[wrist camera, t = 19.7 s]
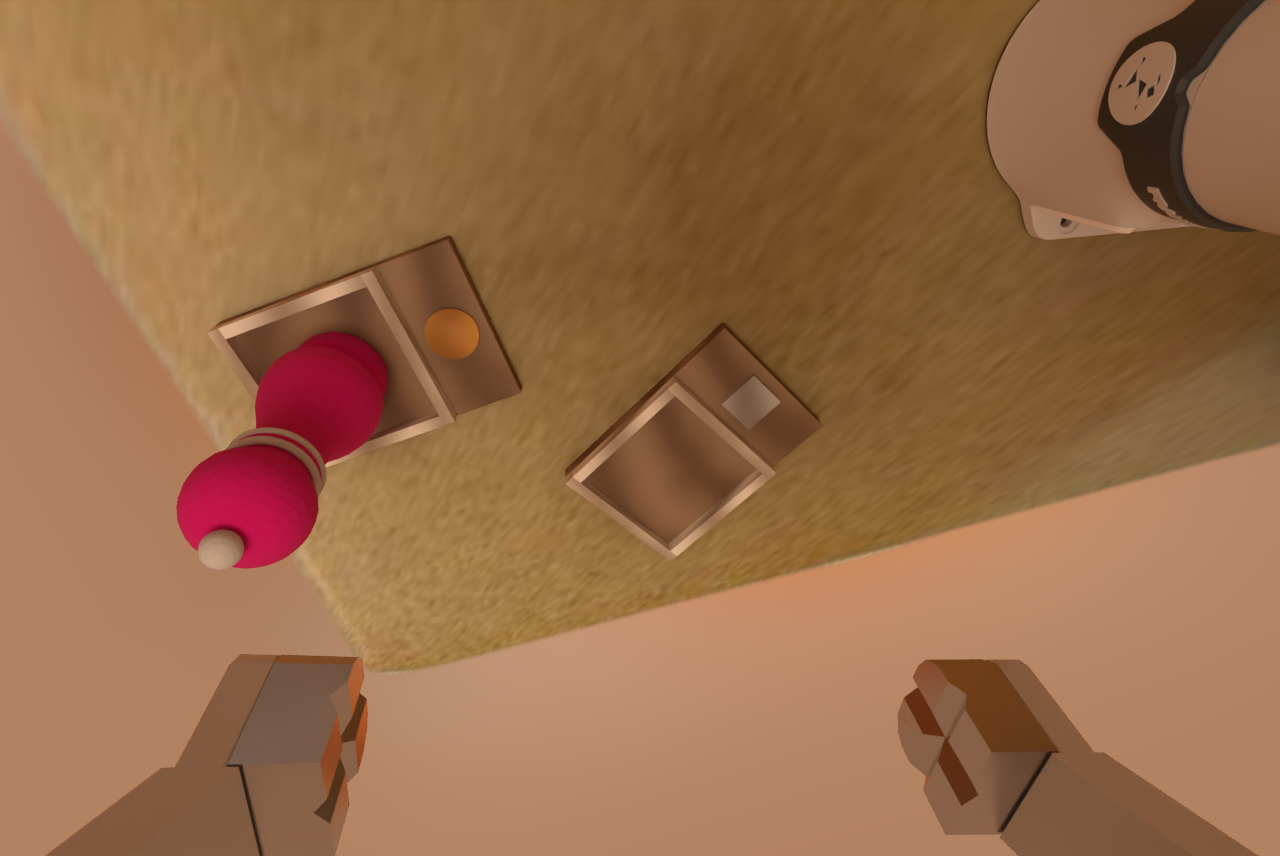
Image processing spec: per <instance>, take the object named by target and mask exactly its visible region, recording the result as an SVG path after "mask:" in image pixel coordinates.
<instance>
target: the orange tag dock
mask: <svg viewBox="0 0 1280 856" xmlns="http://www.w3.org/2000/svg"><path fill="white" fill-rule="evenodd" d="M326 332H341V333H346V334H349V335H352V336H355V337H358V338H360V339H361V340H363V341H365V342H366V343H367V344H369V345H370V346H371V347H373V348H374V350H375V351H376V352H377V353H378V354H379V355H380V357H381V358H382V360H383V362H384V364H385V366H386V369H387V373H388V387H387V391H386V393H385V396H384V398H383V399H382V400H383V410H382V416H381V419H380V422H379V424H378V426H377V428H376V429H375V431H374V432H373V434H372V435H371V436H370V438H369V439H368V440H367V441H366V442H365V443H364V444H363V445H362V446H361V447H359V448H358V449H356V450H355V451H353V452H352V453H350V454H348V455H346V456H344V457H342V458H340V459H337V460H333V461H330V462H328V463H326V465H325V467H329V466H332V465H335V464H337V463H340V462H343V461H346V460H349V459H351V458H354V457H357V456H360V455H363V454H366V453H368V452H371V451H374V450H377V449H380V448H383V447H385V446H388V445H391V444H394V443H397V442H399V441H402V440H405V439H408V438H411V437H414V436H416V435H419V434H422V433H425V432H428V431H431V430H433V429H436V428H439V427H442V426H445V425H447V424H450V423H453V422H455V420H456V416H457V415H459V414H462V413H465V412H468V411H471V410H473V409H476V408H479V407H482V406H485V405H488V404H490V403H493V402H496V401H499V400H502V399H504V398H507V397H510V396H513V395H516V394H519V393H521V389H522V386H521V384H520V382H519V380H518V378H517V376H516V373H515V371H514V369H513V367H512V365H511V363H510V361H509V359H508V357H507V355H506V352H505V350H504V348H503V346H502V344H501V342H500V340H499V338H498V336H497V334H496V331H495V329H494V327H493V325H492V323H491V321H490V319H489V317H488V315H487V313H486V310H485V308H484V306H483V304H482V302H481V300H480V298H479V296H478V294H477V292H476V289H475V287H474V285H473V283H472V281H471V279H470V277H469V275H468V273H467V271H466V268H465V266H464V264H463V262H462V260H461V258H460V256H459V254H458V252H457V250H456V247H455V245H454V243H453V241H452V239H451V237H450V236H448V237H445V238H443V239H440V240H437V241H435V242H432V243H429V244H427V245H424V246H421V247H419V248H416V249H413V250H411V251H408V252H405V253H403V254H400V255H397V256H395V257H392V258H389V259H387V260H384V261H381V262H379V263H376V264H373V265H371V266H368V267H365V268H363V269H360V270H357V271H355V272H352V273H349V274H347V275H344V276H341V277H339V278H336V279H333V280H331V281H328V282H325V283H323V284H320V285H317V286H315V287H312V288H309V289H307V290H304V291H301V292H299V293H296V294H293V295H291V296H288V297H285V298H283V299H280V300H278V301H275V302H272V303H270V304H267V305H264V306H262V307H259V308H256V309H254V310H251V311H248V312H246V313H243V314H240V315H238V316H235V317H232V318H230V319H227V320H224V321H222V322H220V323H218V324H217V325H216V326H215V327H213V328H212V329H211V330H209V331H208V332H207V334H208V335H209V337H210V338H211V339H212V341H213V342H214V344H215V345H216V346H217V348H218V349H219V351H220V352H221V354H222V355H223V356H224V358H225V359H226V361H227V362H228V363H229V365H230V366H231V368H232V369H233V371H234V372H235V373H236V375H237V376H238V378H239V379H240V380H241V382H242V383H243V385H244V386H245V388H246V389H247V390H248V392H249V393H250V395H251V396H252V397H253V399H254V400H255V402H256V396H257V391H258V387H259V384H260V382H261V380H262V378H263V377H264V375H265V373H266V372H267V370H268V369H269V367H270V366H271V365H272V364H273V363H274V362H275V361H276V360H277V359H278V358H279V357H281V356H282V355H284V354H286V353H288V352H290V351H292V350H295V349H298V348H299V346H300V345H301V344H302V343H303V342H305V341H306V340H307V339H309V338H310V337H312V336H315V335H317V334H321V333H326Z"/></svg>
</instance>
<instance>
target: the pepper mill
mask: <svg viewBox="0 0 1280 856" xmlns="http://www.w3.org/2000/svg"><path fill="white" fill-rule="evenodd" d="M387 387H388V373H387V369H386V366H385V364H384V362H383V360H382V358H381V357H380V355H379V354H378V353H377V352H376V351H375V350H374V348H373V347H371V346H370V345H369V344H367V343H366V342H365V341H363V340H361V339H360V338H358V337H355V336H352V335H349V334H346V333H341V332H326V333H321V334H317V335H315V336H312V337H310V338H309V339H307V340H306V341H305V342H303V343H302V344H301V345H300V346H299V348H298V349H295V350H292V351H290V352H288V353H286V354H284V355H282V356H281V357H279V358H278V359H277V360H276V361H275V362H274V363H273V364H272V365H271V366H270V367H269V369H268V370H267V372H266V373H265V375H264V377H263V378H262V380H261V382H260V384H259V387H258V391H257V396H256V402H255V413H256V428H255V429H252V430H249V431H246V432H244V433H242V434H241V435H239V436H238V437H236V438H235V439H234V440H233V441H232V442H231V443H230V445H229V447H228V448H227V449H225V450H224V451H221V452H218V453H215V454H214V455H212V456H211V457H209V458H208V459H206V460H205V461H203V462H201V463H200V464H199V465H198V466H197V467H196V468H195V469H194V470H193V471H192V472H191V473H190V475H189V476H188V477H187V479H186V481H185V482H184V484H183V486H182V489H181V491H180V494H179V497H178V502H177V520H178V523H179V526H180V528H181V531H182V533H183V535H184V537H185V539H186V540H187V541H188V542H189V544H190V545H191V546H192V547H193V548H194V549H196V550H197V551H198V557H199V559H200V561H201V562H202V563H203V564H204V565H205V566H207V567H208V568H211V569H215V570H223V569H227V568H230V567H236V568H255V567H262V566H267V565H269V564H273V563H275V562H277V561H279V560H282V559H284V558H285V557H287V556H289V555H290V554H291V553H293V552H294V551H295V550H296V549H297V548H299V547H300V546H301V545H302V544H303V542H304V541H305V540H306V539H307V537H308V536H309V534H310V533H311V531H312V528H313V526H314V524H315V522H316V518H317V514H318V510H319V509H318V497H319V494H320V492H321V491H322V489H323V487H324V485H325V481H326V467H325V465H326V463H328V462H330V461H333V460H337V459H340V458H342V457H344V456H346V455H348V454H350V453H352V452H353V451H355V450H356V449H358V448H359V447H361V446H362V445H363V444H364V443H365V442H366V441H367V440H368V439H369V438H370V436H371V435H372V434H373V432H374V431H375V429H376V428H377V426H378V424H379V422H380V419H381V416H382V410H383V400H382V399H383V398H384V396H385V393H386V391H387Z"/></svg>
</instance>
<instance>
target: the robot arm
mask: <svg viewBox="0 0 1280 856" xmlns="http://www.w3.org/2000/svg"><path fill="white" fill-rule="evenodd" d="M987 134H988V141H989V147H990V151H991V154H992V157H993V160H994V162H995V165H996V167H997V169H998V171H999V172H1000V174H1001V176H1002V177H1003V178H1004V180H1005V181H1006V182H1007V183H1008V185H1009V186H1010V187H1011V188H1012V190H1013V191H1014V192H1015V194H1016V195H1017V197H1018V198H1019V200H1020V204H1021V210H1022V215H1023V220H1024V224H1025V227H1026V230H1027V232H1028V233H1029V234H1030V235H1031V236H1032V237H1034V238H1038V239H1043V240H1054V239H1064V238H1075V237H1085V236H1096V235H1106V234H1117V233H1126V234H1129V233H1131V232H1137V231H1148V230H1158V229H1169V228H1179V227H1190V226H1194V227H1198V228H1203V229H1206V228H1208V229H1213V230H1223V231H1228V232H1250V231H1258V230H1259V231H1263V232H1267V233H1271V234H1275V235H1279V236H1280V0H1040V1H1039V2H1038V3H1037V4H1036V5H1035V6H1034V7H1033V9H1032V10H1031V11H1030V12H1029V13H1028V15H1027V16H1026V17H1025V18H1024V20H1023V21H1022V22H1021V24H1020V25H1019V27H1018V28H1017V30H1016V31H1015V33H1014V35H1013V36H1012V38H1011V40H1010V41H1009V43H1008V45H1007V47H1006V49H1005V51H1004V53H1003V55H1002V57H1001V60H1000V62H999V64H998V67H997V70H996V73H995V76H994V79H993V82H992V86H991V90H990V95H989V101H988V109H987ZM1062 218H1064V219H1066V220H1065V222H1064V223H1063V224H1060V222H1061V220H1062ZM913 678H914V681H915V683H916V685H917V688H916V689H915V690H913V691H912V692H911V693H909V694H908V695H907V696H906V697H904V699H903V701H902V704H901V707H900V709H899V712H898V733H899V737H900V740H901V744H902V747H903V749H904V751H905V754H906V756H907V758H908V760H909V762H910V763H911V764H912V765H914V766H915V767H916V768H917V769H919V770H920V771H921V772H922V773H923V774H924V775H926V779H925V785H924V793H925V795H926V796H927V799H928V801H929V802H930V804H931V806H932V808H933V811H934V813H935V815H936V817H937V818H938V820H939V822H940V825H941V826H942V829H943V830H944V833H945V834H946V835H949V834H950V835H951V834H952V835H962V834H963V835H965V834H967V835H968V834H969V835H970V834H1002V835H1001V836H1000V838H1001V839H1002V840H1003V841H1004V842H1005V843H1006V844H1007V845H1008V846H1009V847H1010V848H1011V849H1012V850H1013V851H1014V852H1015V853H1016V854H1017V855H1018V856H1258V855H1256V854H1255V853H1253V852H1252V851H1250V850H1249V849H1247V848H1246V847H1244V846H1243V845H1241V844H1240V843H1238V842H1237V841H1235V840H1234V839H1232V838H1231V837H1229V836H1228V835H1226V834H1225V833H1223V832H1222V831H1220V830H1219V829H1217V828H1216V827H1215V826H1213V825H1212V824H1210V823H1208V822H1207V821H1205V820H1204V819H1202V818H1201V817H1200V816H1198V815H1196V814H1195V813H1194V812H1192V811H1191V810H1189V809H1187V808H1186V807H1184V806H1183V805H1181V804H1180V803H1179V802H1177V801H1176V800H1174V799H1172V798H1171V797H1170V796H1168V795H1167V794H1165V793H1164V792H1162V791H1161V790H1159V789H1158V788H1156V787H1155V786H1153V785H1151V784H1150V783H1149V782H1147V781H1146V780H1144V779H1143V778H1141V777H1140V776H1138V775H1137V774H1135V773H1134V772H1132V771H1131V770H1129V769H1128V768H1126V767H1125V766H1123V765H1122V764H1120V763H1119V762H1117V761H1116V760H1114V759H1113V758H1111V757H1110V756H1108V755H1107V754H1105V753H1098V752H1094V751H1093V750H1092V748H1091V747H1090V746H1089V745H1088V743H1087V742H1086V741H1085V740H1084V738H1083V737H1082V735H1081V734H1080V733H1079V732H1078V730H1077V729H1076V728H1075V726H1074V725H1073V724H1072V722H1071V721H1070V720H1069V719H1068V717H1067V716H1066V715H1065V713H1064V712H1063V711H1062V709H1061V708H1060V707H1059V705H1058V704H1057V703H1056V702H1055V700H1054V699H1053V698H1052V696H1051V695H1050V694H1049V692H1048V691H1047V690H1046V688H1045V687H1044V686H1043V685H1042V683H1041V682H1040V681H1039V679H1038V678H1037V677H1036V676H1035V674H1034V673H1033V672H1032V671H1031V669H1030V668H1029V667H1028V666H1027V665H1026V664H1024V663H1023V662H1021V661H1020V660H982V659H976V660H975V659H973V660H972V659H970V660H925V661H924V662H922V663H921V664H920V665H918V668H917V669H916V672H915V674H914V676H913ZM363 679H364V669H363V662H362V659H361V658H359V657H336V656H304V655H250V654H240V655H239V656H238V657H237V658H236V659H235V660H234V661H233V662H232V663H231V664H230V665H229V667H228V669H227V671H226V672H225V674H224V676H223V678H222V680H221V682H220V684H219V686H218V687H217V689H216V691H215V693H214V695H213V697H212V699H211V701H210V703H209V704H208V706H207V708H206V710H205V712H204V714H203V716H202V718H201V719H200V722H199V723H198V725H197V727H196V729H195V731H194V732H193V734H192V736H191V738H190V740H189V742H188V744H187V746H186V747H185V749H184V751H183V753H182V755H181V757H180V759H179V761H178V762H177V764H176V766H175V767H171V768H161V769H159V770H158V771H157V772H156V773H154V774H153V775H151V776H150V777H149V778H148V779H146V780H145V781H143V782H142V783H141V784H140V785H138V786H137V787H136V788H134V789H133V790H132V791H130V792H129V793H128V794H126V795H125V796H124V797H122V798H121V799H120V800H118V801H117V802H116V803H114V804H113V805H112V806H110V807H109V808H108V809H107V810H105V811H104V812H102V813H101V814H100V815H98V816H97V817H96V818H94V819H93V820H92V821H91V822H89V823H88V824H87V825H85V826H84V827H83V828H81V829H80V830H79V831H77V832H76V833H75V834H73V835H72V836H71V837H69V838H68V839H67V840H66V841H64V842H63V843H61V844H60V845H59V846H57V847H56V848H55V849H53V850H52V851H51V852H49V853H48V854H47V855H45V856H335V853H336V850H337V846H338V843H339V839H340V836H341V832H342V829H343V825H344V822H345V818H346V814H347V811H348V807H349V798H348V790H347V782H348V781H349V780H350V779H351V778H353V777H354V776H355V775H356V774H357V773H358V771H359V767H360V763H361V759H362V755H363V751H364V745H365V739H366V732H367V717H368V716H367V715H368V712H367V699H366V698H365V697H364V696H363V695H361V694H360V689H361V686H362V683H363Z"/></svg>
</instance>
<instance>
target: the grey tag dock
mask: <svg viewBox="0 0 1280 856" xmlns="http://www.w3.org/2000/svg"><path fill="white" fill-rule="evenodd" d="M821 426H822V424H821V423H820V422H819V420H818V419H817V418H816V417H815V416H814V415H813V414H812V413H811V412H810V411H809V410H808V409H807V408H806V407H805V406H804V405H803V404H802V403H801V402H800V401H799V400H798V399H797V398H796V397H795V396H794V395H793V394H792V393H791V392H790V391H789V390H788V389H787V388H786V387H785V386H784V385H783V384H782V383H781V382H780V381H779V380H778V379H777V378H776V377H775V376H774V375H773V374H772V373H771V372H770V371H769V370H768V369H767V368H766V367H765V366H764V365H763V364H762V363H761V362H760V361H759V360H758V359H757V358H756V357H755V356H754V355H753V354H752V353H751V352H750V351H749V350H748V349H747V348H746V347H745V346H744V345H743V344H742V343H741V342H740V341H739V340H738V339H737V338H736V337H735V336H734V335H733V334H732V333H731V332H730V331H729V330H728V329H727V328H726V327H725V326H724V325H723V324H721V325H720V326H719V327H718V328H716V329H715V330H714V331H713V332H712V333H711V334H710V335H709V336H708V337H707V338H706V339H705V340H704V341H703V342H701V343H700V344H699V345H698V346H697V347H696V348H695V349H694V350H693V351H692V352H691V353H690V354H689V355H688V356H687V357H685V358H684V359H683V360H682V361H681V362H680V363H679V364H678V365H677V366H676V367H675V368H674V369H673V370H672V371H671V372H669V373H668V374H667V375H666V376H665V377H664V378H663V379H662V380H661V381H660V382H659V383H658V384H657V385H656V386H655V387H653V388H652V389H651V390H650V391H649V392H648V393H647V394H646V395H645V396H644V397H643V398H642V399H641V400H640V401H638V402H637V403H636V404H635V405H634V406H633V407H632V408H631V409H630V410H629V411H628V412H627V413H626V414H625V415H624V416H622V417H621V418H620V419H619V420H618V421H617V422H616V423H615V424H614V425H613V426H612V427H611V428H610V429H609V430H608V431H606V432H605V433H604V434H603V435H602V436H601V437H600V438H599V439H598V440H597V441H596V442H595V443H594V444H593V445H592V446H590V447H589V448H588V449H587V450H586V451H585V452H584V453H583V454H582V455H581V456H580V457H579V458H578V459H577V460H575V461H574V462H573V463H572V464H571V465H570V466H569V467H568V468H567V469H566V484H567V485H568V486H569V487H571V488H572V489H573V490H575V491H576V492H577V493H579V494H580V495H581V496H583V497H584V498H585V499H587V500H588V501H589V502H591V503H592V504H593V505H595V506H596V507H597V508H599V509H600V510H601V511H603V512H604V513H605V514H607V515H608V516H609V517H611V518H612V519H613V520H615V521H616V522H617V523H619V524H620V525H621V526H623V527H624V528H625V529H627V530H628V531H629V532H631V533H632V534H633V535H635V536H636V537H637V538H639V539H640V540H641V541H643V542H644V543H645V544H647V545H648V546H649V547H651V548H652V549H653V550H655V551H656V552H657V553H659V554H660V555H661V556H663V557H664V558H665V559H667V560H668V561H669V562H670V561H672V560H673V559H674V558H675V557H676V556H678V555H679V554H680V553H681V552H682V551H684V550H685V549H686V548H687V547H688V546H690V545H691V544H692V543H693V542H694V541H696V540H697V539H698V538H699V537H700V536H702V535H703V534H704V533H705V532H706V531H708V530H709V529H710V528H711V527H713V526H714V525H715V524H716V523H717V522H719V521H720V520H721V519H722V518H723V517H725V516H726V515H727V514H728V513H729V512H731V511H732V510H733V509H734V508H735V507H737V506H738V505H739V504H740V503H741V502H743V501H744V500H745V499H746V498H747V497H749V496H750V495H751V494H752V493H753V492H755V491H756V490H757V489H758V488H759V487H761V486H762V485H763V484H764V483H766V482H767V481H768V480H769V479H770V478H772V477H773V476H774V475H775V474H776V471H775V469H774V467H773V466H774V465H776V464H777V463H778V462H779V461H780V460H782V459H783V458H784V457H785V456H786V455H788V454H789V453H790V452H791V451H792V450H794V449H795V448H796V447H797V446H798V445H800V444H801V443H802V442H803V441H804V440H806V439H807V438H808V437H809V436H810V435H812V434H813V433H814V432H815V431H816V430H818V429H819V428H820V427H821Z"/></svg>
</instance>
